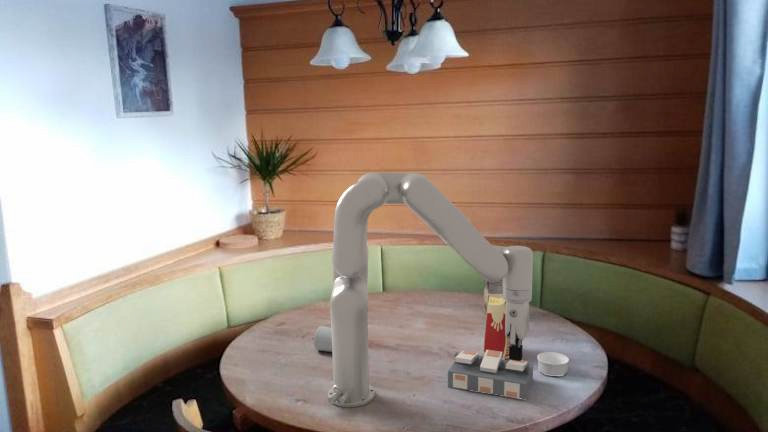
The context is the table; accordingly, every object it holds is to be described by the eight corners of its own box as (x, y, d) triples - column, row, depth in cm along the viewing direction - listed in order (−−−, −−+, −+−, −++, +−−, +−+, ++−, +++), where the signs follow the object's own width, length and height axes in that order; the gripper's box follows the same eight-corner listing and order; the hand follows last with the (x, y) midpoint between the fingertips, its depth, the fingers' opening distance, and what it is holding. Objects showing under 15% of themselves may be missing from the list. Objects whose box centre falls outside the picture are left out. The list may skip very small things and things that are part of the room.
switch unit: (524, 401, 150) (525, 375, 149) (447, 387, 158) (447, 363, 157) (532, 379, 162) (533, 355, 161) (460, 367, 170) (460, 345, 169)
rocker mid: (496, 373, 155) (496, 369, 155) (480, 370, 157) (479, 366, 157) (502, 355, 162) (502, 351, 162) (486, 353, 164) (486, 348, 163)
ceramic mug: (337, 356, 180) (337, 333, 178) (313, 353, 182) (313, 330, 181) (350, 344, 190) (350, 322, 188) (327, 341, 192) (327, 319, 191)
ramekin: (533, 365, 172) (534, 351, 171) (563, 365, 172) (564, 351, 171) (540, 378, 163) (541, 364, 162) (572, 378, 163) (573, 364, 162)
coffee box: (483, 312, 218) (483, 271, 215) (499, 311, 218) (500, 270, 215) (487, 320, 209) (487, 278, 206) (504, 320, 209) (505, 277, 206)
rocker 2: (522, 371, 152) (523, 365, 152) (505, 368, 154) (505, 363, 154) (527, 366, 159) (527, 361, 160) (510, 363, 161) (511, 358, 161)
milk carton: (520, 351, 181) (522, 290, 178) (504, 361, 175) (506, 298, 171) (495, 344, 188) (496, 285, 184) (479, 353, 181) (480, 292, 178)
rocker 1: (470, 364, 158) (471, 359, 157) (454, 361, 159) (455, 356, 159) (477, 357, 165) (477, 352, 165) (462, 354, 167) (462, 350, 167)
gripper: (527, 303, 142) (525, 373, 145) (536, 286, 156) (534, 350, 159) (496, 300, 145) (495, 368, 148) (508, 284, 159) (507, 346, 162)
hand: (515, 359), depth 154 cm, fingers closed
